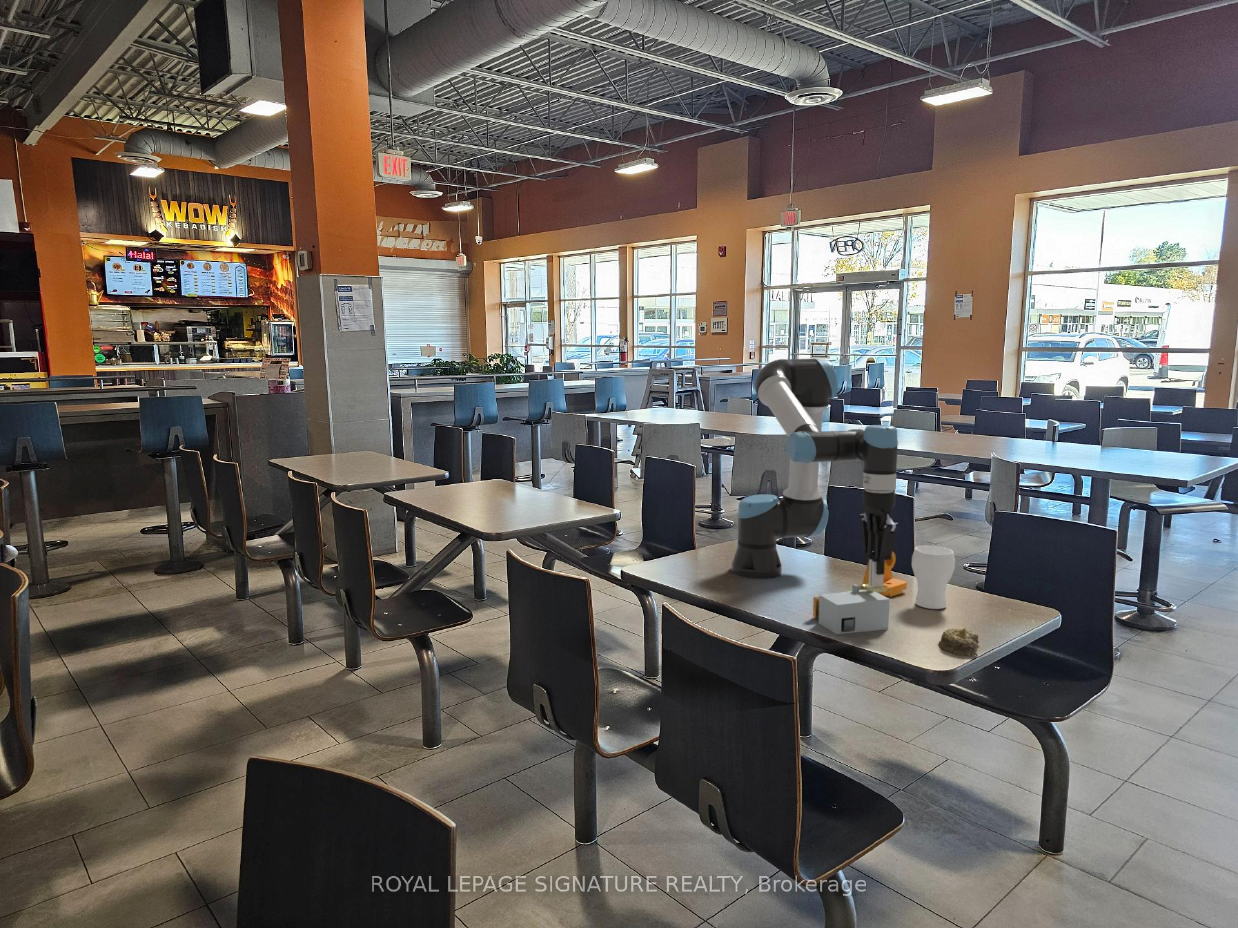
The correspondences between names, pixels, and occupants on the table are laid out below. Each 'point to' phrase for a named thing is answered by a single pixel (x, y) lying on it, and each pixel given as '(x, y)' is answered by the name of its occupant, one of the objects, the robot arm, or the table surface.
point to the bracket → (888, 579)
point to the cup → (932, 574)
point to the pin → (846, 622)
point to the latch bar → (870, 588)
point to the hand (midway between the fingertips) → (875, 585)
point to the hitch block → (854, 610)
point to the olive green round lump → (959, 642)
